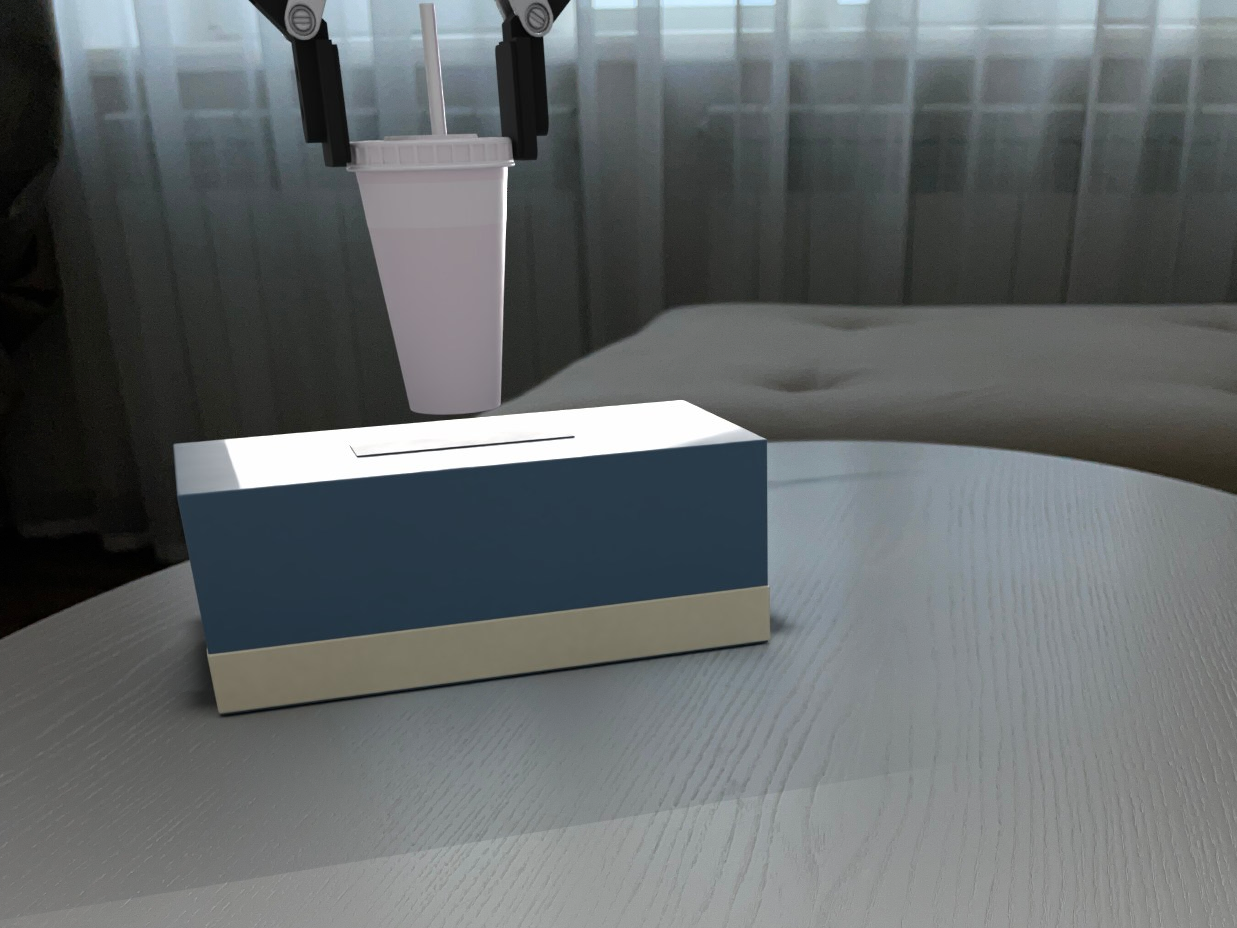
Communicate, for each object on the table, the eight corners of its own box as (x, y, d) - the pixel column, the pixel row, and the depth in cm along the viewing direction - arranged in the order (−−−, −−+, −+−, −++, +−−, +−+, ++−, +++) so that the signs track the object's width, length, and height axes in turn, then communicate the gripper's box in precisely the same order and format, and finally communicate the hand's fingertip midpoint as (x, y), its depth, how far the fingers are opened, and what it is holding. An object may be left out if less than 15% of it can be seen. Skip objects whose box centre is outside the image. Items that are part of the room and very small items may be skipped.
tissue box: (219, 717, 57) (175, 494, 52) (209, 636, 66) (171, 442, 62) (770, 642, 63) (769, 437, 58) (690, 578, 72) (684, 398, 68)
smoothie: (463, 425, 56) (420, -6, 49) (343, 413, 59) (288, 6, 52) (564, 399, 60) (538, 2, 53) (448, 389, 63) (410, 13, 57)
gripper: (596, -410, 52) (621, 154, 61) (87, -447, 47) (192, 169, 56) (658, -486, 46) (676, 156, 54) (77, -537, 41) (198, 173, 50)
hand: (430, 157), depth 55 cm, fingers closed on smoothie, 6 cm apart
